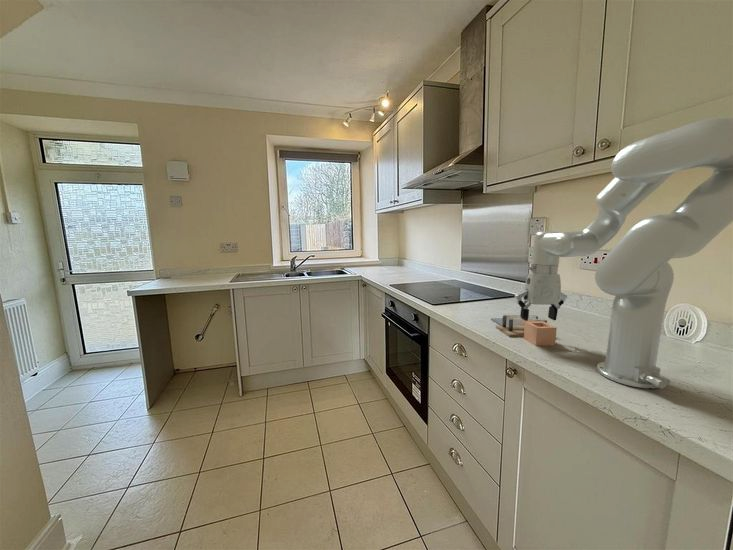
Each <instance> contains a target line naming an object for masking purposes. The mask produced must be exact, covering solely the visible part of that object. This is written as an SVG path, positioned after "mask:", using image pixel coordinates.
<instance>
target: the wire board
mask: <svg viewBox="0 0 733 550" xmlns="http://www.w3.org/2000/svg"><path fill="white" fill-rule="evenodd" d="M508 328H509V325H506V327H502V326H500V325H495V329H497V330H498V329H499V330H498V331H500V332H501V333H503V334H504V335H506V336H508V337H509V338H518V337H521V338H524V329H525V325H513V331H508Z"/></svg>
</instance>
